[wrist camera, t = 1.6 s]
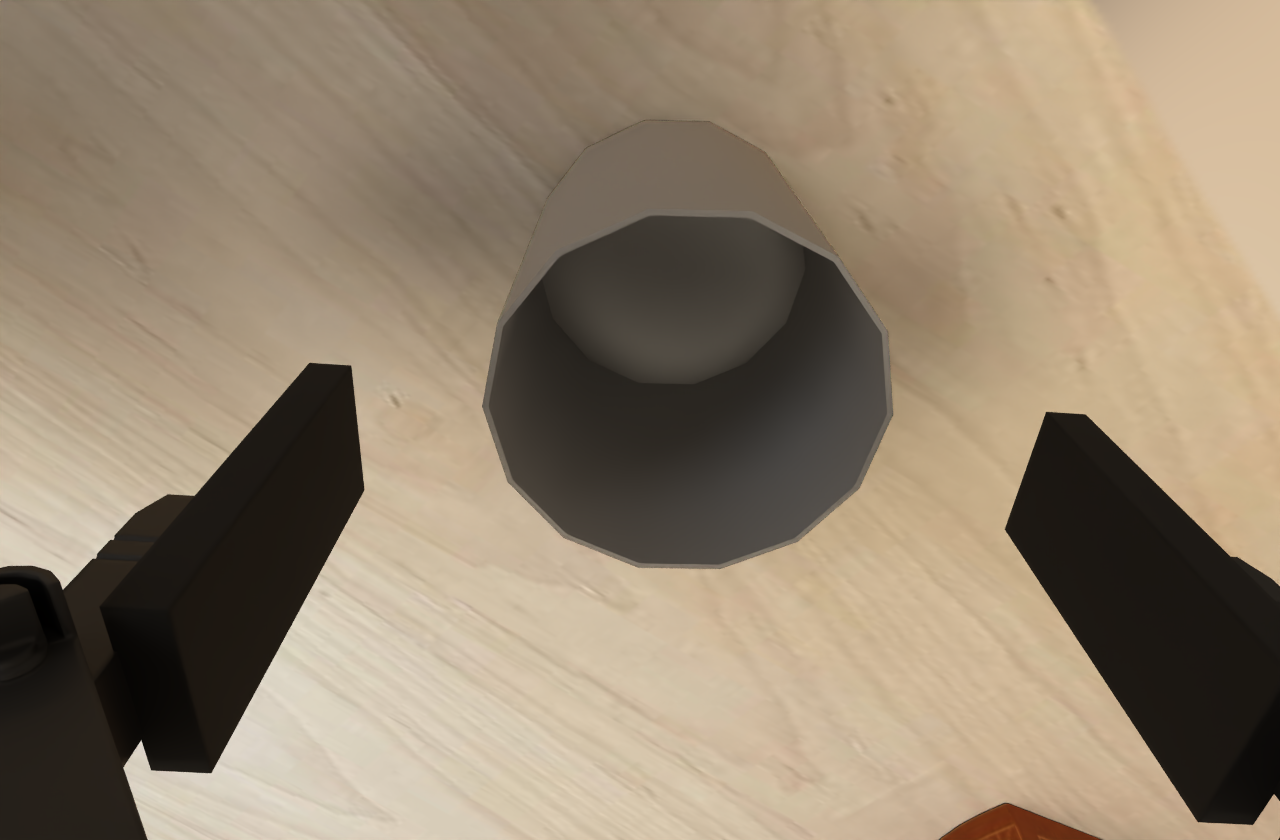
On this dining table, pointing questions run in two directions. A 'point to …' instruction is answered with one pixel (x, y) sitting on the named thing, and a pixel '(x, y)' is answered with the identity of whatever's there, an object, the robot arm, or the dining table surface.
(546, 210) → the cup
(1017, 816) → the book
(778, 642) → the dining table surface
